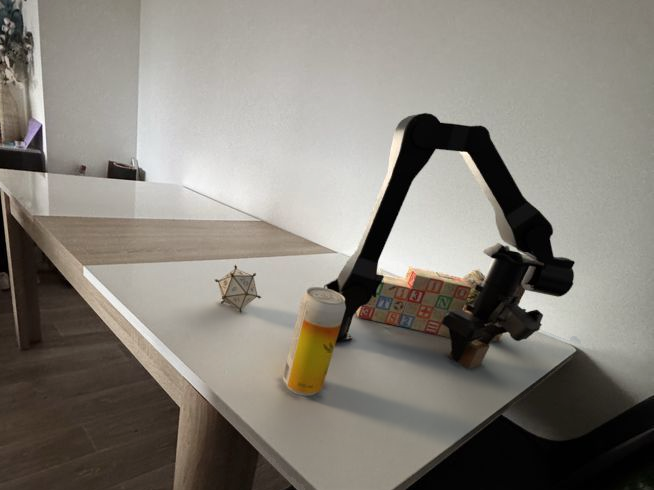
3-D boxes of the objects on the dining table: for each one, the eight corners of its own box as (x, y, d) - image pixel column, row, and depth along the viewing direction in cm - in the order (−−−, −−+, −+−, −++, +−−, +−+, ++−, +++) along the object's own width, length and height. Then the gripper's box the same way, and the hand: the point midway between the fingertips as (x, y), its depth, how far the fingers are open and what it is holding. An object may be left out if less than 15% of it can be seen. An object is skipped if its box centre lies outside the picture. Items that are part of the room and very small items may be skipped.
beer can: (327, 397, 58) (355, 305, 51) (289, 398, 56) (313, 303, 49) (313, 373, 63) (336, 287, 56) (277, 373, 61) (297, 284, 54)
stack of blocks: (357, 318, 87) (373, 265, 81) (354, 307, 92) (369, 257, 87) (450, 337, 87) (473, 286, 82) (442, 325, 93) (462, 277, 87)
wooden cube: (448, 356, 78) (457, 337, 76) (460, 353, 81) (469, 334, 79) (468, 369, 75) (478, 348, 73) (480, 365, 77) (490, 345, 75)
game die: (241, 322, 82) (277, 293, 79) (219, 320, 74) (257, 288, 71) (221, 289, 85) (255, 259, 81) (197, 283, 77) (233, 251, 74)
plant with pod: (466, 311, 106) (498, 239, 97) (486, 330, 96) (524, 251, 87) (437, 305, 105) (467, 232, 96) (455, 324, 95) (490, 244, 86)
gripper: (520, 308, 60) (478, 390, 66) (568, 299, 70) (527, 371, 77) (457, 280, 67) (425, 356, 74) (508, 276, 78) (476, 343, 85)
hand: (466, 357), depth 77 cm, fingers open, 7 cm apart
